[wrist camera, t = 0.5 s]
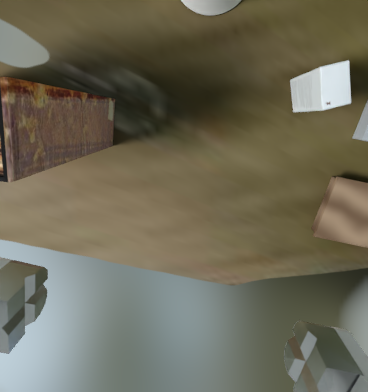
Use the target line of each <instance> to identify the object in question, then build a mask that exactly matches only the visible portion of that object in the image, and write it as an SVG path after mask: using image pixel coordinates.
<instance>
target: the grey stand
mask: <svg viewBox="0 0 368 392" xmlns="http://www.w3.org/2000/svg"><path fill="white" fill-rule="evenodd" d="M353 139H358V140H363V141H367V142H368V100H367V103H366V105H365V108H364V110H363V113H362V115H361V118H360V120H359V123H358V125H357V128H356V130H355V133H354V135H353Z"/></svg>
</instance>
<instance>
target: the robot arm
mask: <svg viewBox="0 0 368 392" xmlns="http://www.w3.org/2000/svg"><path fill="white" fill-rule="evenodd" d="M181 1H182V2H183V4H184V5H186V6H187V7H188V8H189V9H191V10H192V11H194V12H196V13H199V14H202V15H218V14H222V13H225V12H227V11H229V10H231V9H232V8H234V7H235V6H236V5H237V4H238V3H239V2H240V1H241V0H181ZM47 275H48V271H47V269H46V268H45V267H41V266H36V265H32V264H28V263H24V262H19V261H15V260H14V261H13V260H9V259H5V258H1V257H0V352H1V353H7V354H9V353H10V352H11V350H12V349H13V348H14V347H15V345H16V344H17V343H18V341H19V340H20V339H21V338H22V336H23V335H24V334H25V326H26V325H28V324H30V323H32V322H34V321H35V320H36V319H37V317H38V316H39V315H40V313H41V311H42V309H43V307H44V305H45V302H46V298H47V289H46V288H45V286H44V285H43V283H44V282H45V281H46V280H47V278H48V276H47ZM293 332H294V335H295V336H294V337H292V338H291V339H289V340H288V342H287V344H286V346H285V353H284V360H285V366H286V369H287V372H288V374H289V375H290V376H291V377H292V379H293V380H294V381H295V385H294V388H293V390H294V392H368V357H367V355H366V354H365V353H364V351H363V350H362V348H361V347H360V345H359V344H358V342H357V341H356V339H355V338H354V337H353V335H352V334H351V333H350V332H349V331H348V330H346V329H341V328H336V327H331V326H330V327H328V326H324V325H319V324H314V323H309V322H304V321H298V322H297V323H296V324H295V326H294V328H293Z"/></svg>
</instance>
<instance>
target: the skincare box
mask: <svg viewBox="0 0 368 392" xmlns="http://www.w3.org/2000/svg"><path fill="white" fill-rule="evenodd" d="M290 84H291V95H292V104H293V112H306V111H323V110H327V109H331V108H335V107H339V106H343V105H347V104H351V85H350V64H349V60H347V61H343V62H338V63H334V64H330V65H325V66H321V67H319V68H317V69H314V70H312V71H310V72H307V73H305V74H302V75H300V76H298V77H295V78H293V79H291V80H290Z"/></svg>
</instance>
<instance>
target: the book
mask: <svg viewBox="0 0 368 392" xmlns="http://www.w3.org/2000/svg"><path fill="white" fill-rule="evenodd" d="M114 111H115V99H113V98H108V97H103V96H99V95H94V94H89V93H84V92H79V91H74V90H69V89H65V88H60V87H55V86H50V85H45V84H40V83H35V82H30V81H26V80H21V79H16V78H11V77H0V181H4V182H13V181H16V180H19V179H22V178H25V177H28V176H30V175H33V174H36V173H39V172H41V171H44V170H47V169H50V168H53V167H55V166H58V165H61V164H64V163H67V162H69V161H72V160H75V159H78V158H81V157H83V156H86V155H89V154H92V153H94V152H97V151H100V150H103V149H106V148H108V147H111V146H113V130H114Z"/></svg>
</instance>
